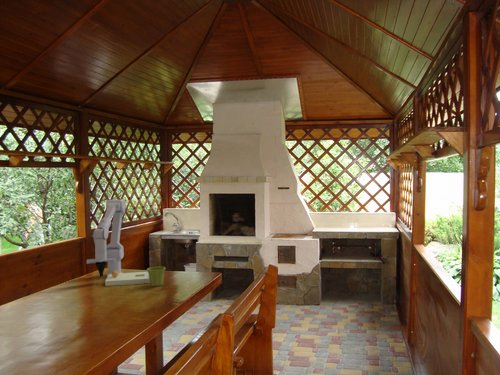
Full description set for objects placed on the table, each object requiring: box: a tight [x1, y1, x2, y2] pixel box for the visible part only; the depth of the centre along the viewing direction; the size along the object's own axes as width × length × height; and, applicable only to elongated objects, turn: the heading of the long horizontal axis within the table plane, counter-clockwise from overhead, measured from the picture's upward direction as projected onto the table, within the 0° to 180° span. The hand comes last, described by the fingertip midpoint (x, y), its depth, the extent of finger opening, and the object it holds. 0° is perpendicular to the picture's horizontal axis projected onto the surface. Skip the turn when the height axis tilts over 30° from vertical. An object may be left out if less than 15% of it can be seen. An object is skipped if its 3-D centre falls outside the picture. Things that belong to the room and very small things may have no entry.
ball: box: [112, 271, 118, 277], centre depth 225 cm, size 3×3×3 cm
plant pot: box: [146, 266, 166, 287], centre depth 216 cm, size 9×9×9 cm
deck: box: [104, 271, 150, 287], centre depth 226 cm, size 18×24×4 cm
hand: (101, 276), depth 223 cm, fingers closed
